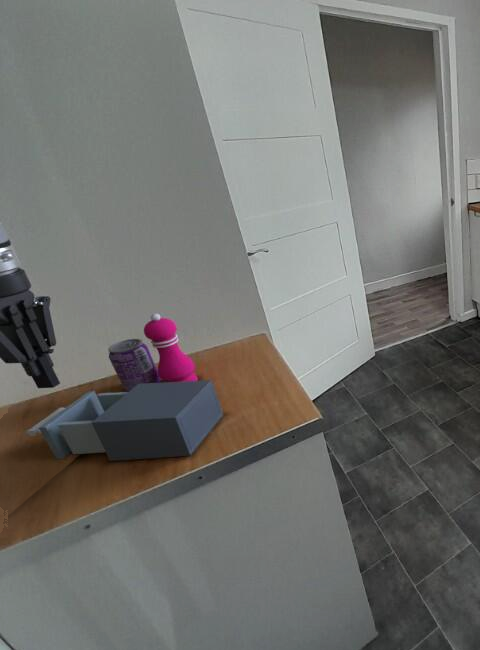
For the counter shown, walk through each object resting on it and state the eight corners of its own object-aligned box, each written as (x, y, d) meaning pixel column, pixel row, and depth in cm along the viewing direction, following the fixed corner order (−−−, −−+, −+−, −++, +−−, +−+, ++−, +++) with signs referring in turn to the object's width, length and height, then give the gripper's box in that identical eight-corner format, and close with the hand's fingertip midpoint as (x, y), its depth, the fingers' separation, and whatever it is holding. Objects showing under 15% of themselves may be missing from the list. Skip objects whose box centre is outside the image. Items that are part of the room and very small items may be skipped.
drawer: (27, 461, 79) (8, 429, 76) (77, 421, 89) (62, 392, 86) (132, 454, 81) (118, 422, 78) (169, 416, 91) (158, 387, 88)
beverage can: (161, 374, 107) (144, 334, 102) (162, 387, 102) (144, 346, 97) (125, 384, 103) (106, 343, 98) (125, 398, 98) (104, 356, 93)
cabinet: (110, 461, 80) (90, 422, 76) (153, 419, 92) (138, 383, 88) (190, 455, 82) (175, 417, 78) (223, 415, 93) (211, 380, 89)
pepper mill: (165, 396, 99) (133, 324, 91) (164, 382, 104) (134, 312, 96) (201, 385, 103) (174, 315, 95) (198, 372, 108) (172, 304, 100)
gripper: (-26, 285, 65) (39, 405, 75) (49, 260, 77) (97, 367, 86) (-80, 286, 64) (-8, 407, 74) (4, 261, 76) (57, 368, 85)
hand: (49, 385), depth 80 cm, fingers closed
